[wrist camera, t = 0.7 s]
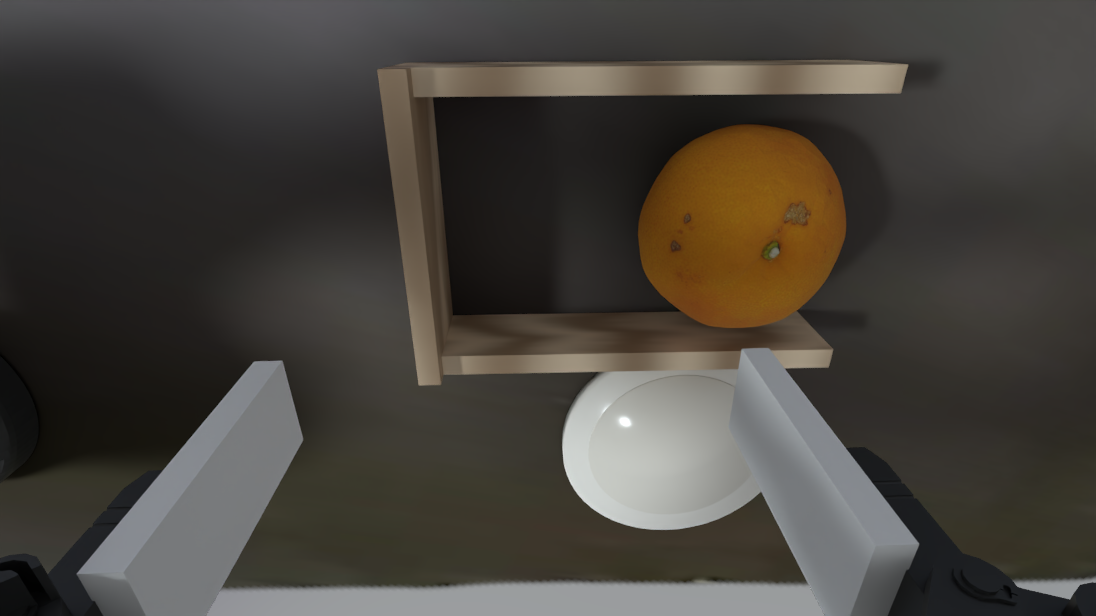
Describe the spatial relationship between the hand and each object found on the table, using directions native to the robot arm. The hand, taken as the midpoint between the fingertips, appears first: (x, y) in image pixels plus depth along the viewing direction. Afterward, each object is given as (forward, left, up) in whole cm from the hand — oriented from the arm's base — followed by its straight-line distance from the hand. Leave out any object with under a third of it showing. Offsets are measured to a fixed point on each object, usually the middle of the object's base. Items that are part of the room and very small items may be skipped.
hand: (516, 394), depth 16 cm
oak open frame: (+6, 0, -18) cm, 19 cm away
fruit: (+11, 0, -19) cm, 22 cm away
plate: (+10, -17, -18) cm, 27 cm away
